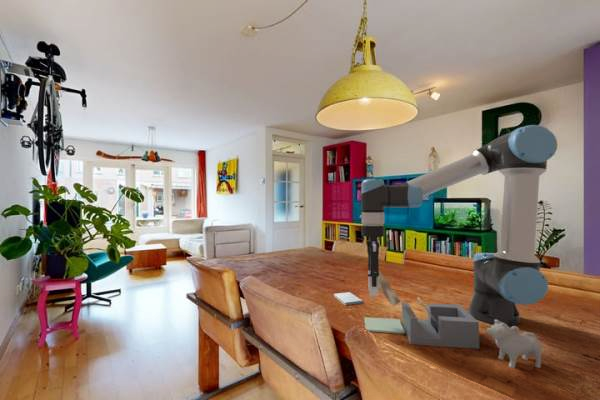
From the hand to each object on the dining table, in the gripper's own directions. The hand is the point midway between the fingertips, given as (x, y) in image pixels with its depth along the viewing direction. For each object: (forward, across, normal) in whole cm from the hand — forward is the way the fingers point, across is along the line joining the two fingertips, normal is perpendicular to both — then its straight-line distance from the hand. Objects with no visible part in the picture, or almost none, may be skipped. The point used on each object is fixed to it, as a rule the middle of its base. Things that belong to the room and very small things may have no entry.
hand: (373, 292), depth 97 cm
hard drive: (+12, -25, -9) cm, 29 cm away
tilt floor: (+5, +5, +17) cm, 19 cm away
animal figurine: (+11, +18, +34) cm, 40 cm away
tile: (-2, 0, +2) cm, 3 cm away
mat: (+11, 0, +3) cm, 12 cm away
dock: (+11, +4, +19) cm, 22 cm away
